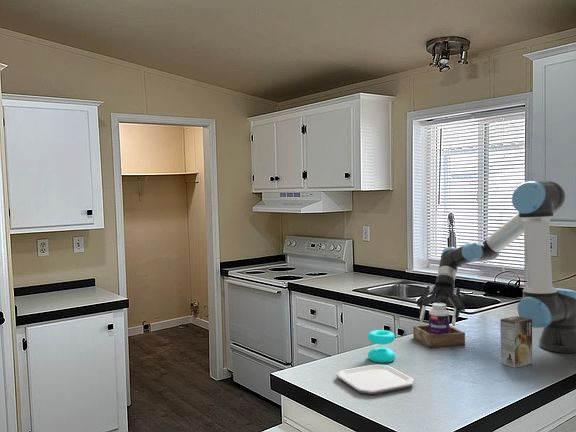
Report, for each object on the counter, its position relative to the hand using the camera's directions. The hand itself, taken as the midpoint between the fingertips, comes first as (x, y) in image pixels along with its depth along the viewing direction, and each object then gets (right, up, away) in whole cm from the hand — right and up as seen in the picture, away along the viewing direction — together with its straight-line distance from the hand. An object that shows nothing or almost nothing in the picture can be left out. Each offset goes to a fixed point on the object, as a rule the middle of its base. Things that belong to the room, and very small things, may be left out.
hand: (436, 322), depth 212 cm
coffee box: (+21, -10, -26) cm, 35 cm away
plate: (-32, -12, -41) cm, 54 cm away
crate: (+1, -8, +3) cm, 9 cm away
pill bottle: (+2, -8, +3) cm, 8 cm away
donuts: (-26, -10, -19) cm, 33 cm away
